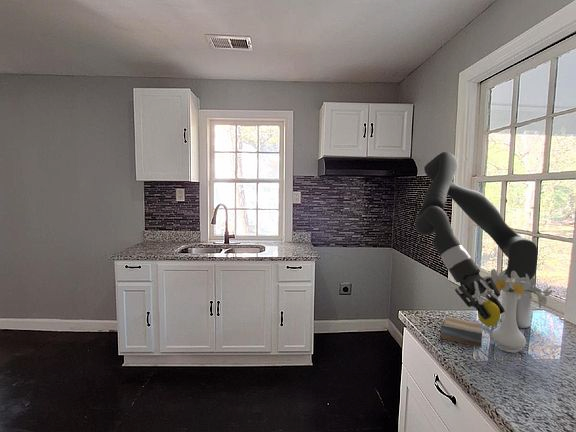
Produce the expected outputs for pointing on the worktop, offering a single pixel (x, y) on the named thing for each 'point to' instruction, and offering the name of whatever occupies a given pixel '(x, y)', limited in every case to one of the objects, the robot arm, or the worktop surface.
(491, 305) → the lemon
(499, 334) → the flower vase
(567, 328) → the worktop surface
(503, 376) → the worktop surface
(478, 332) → the stop board
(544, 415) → the worktop surface
